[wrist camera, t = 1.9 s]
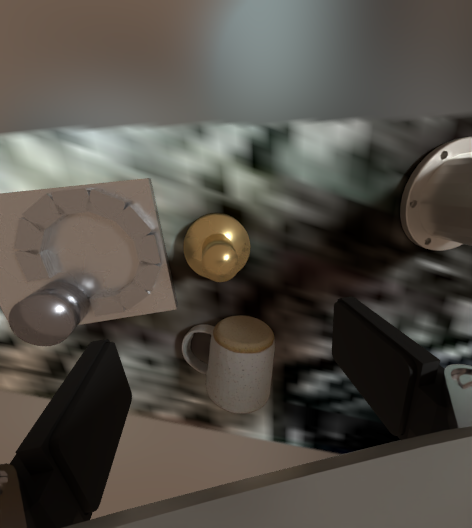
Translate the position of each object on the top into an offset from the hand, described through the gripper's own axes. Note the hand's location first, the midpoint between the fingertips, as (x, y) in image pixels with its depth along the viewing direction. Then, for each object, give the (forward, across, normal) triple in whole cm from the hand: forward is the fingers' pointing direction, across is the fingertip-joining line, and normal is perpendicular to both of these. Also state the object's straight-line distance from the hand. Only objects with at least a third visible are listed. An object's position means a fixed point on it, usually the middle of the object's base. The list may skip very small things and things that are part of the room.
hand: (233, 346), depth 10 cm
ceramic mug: (+17, 0, +13) cm, 22 cm away
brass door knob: (+17, -1, 0) cm, 17 cm away
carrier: (+17, +13, -1) cm, 22 cm away
